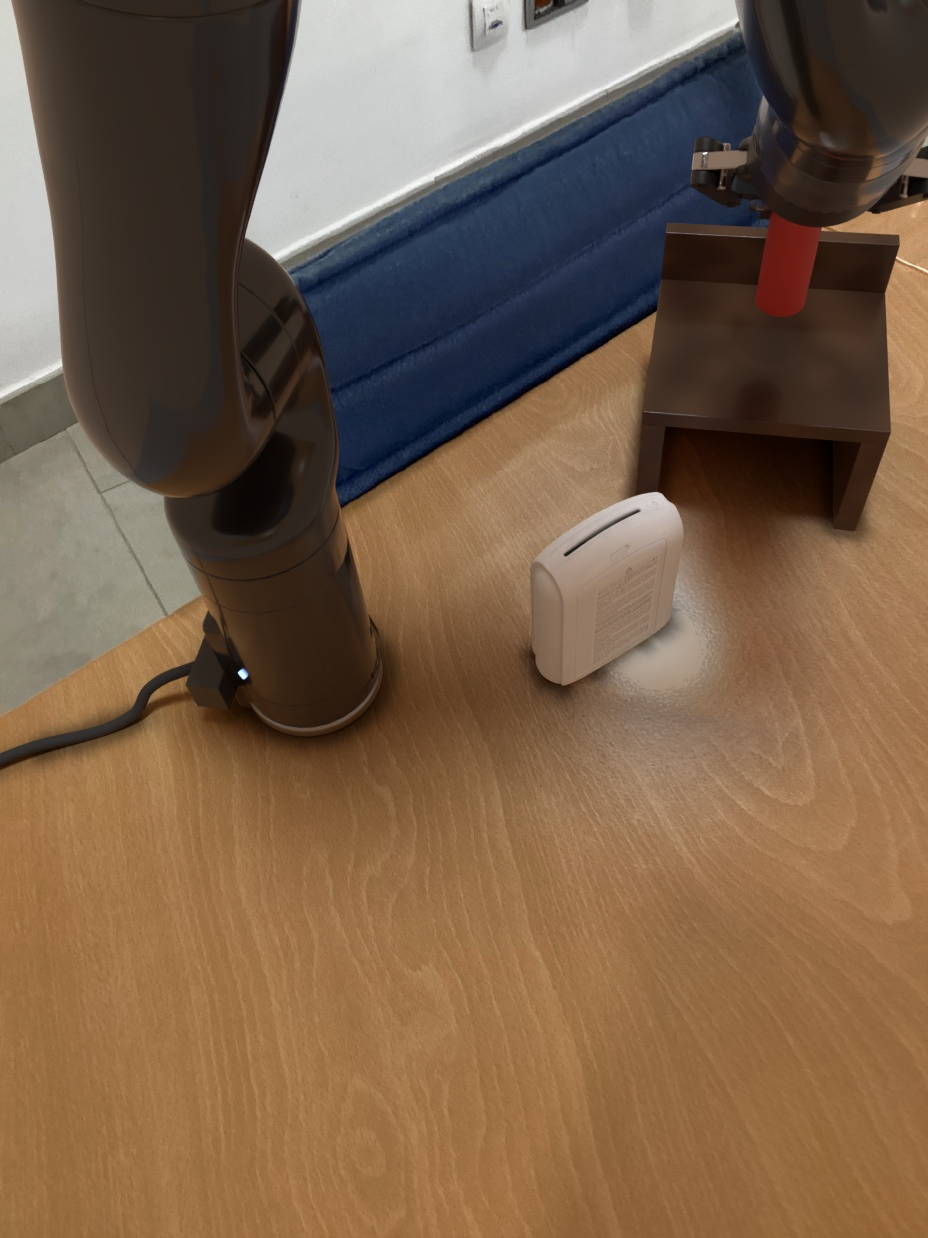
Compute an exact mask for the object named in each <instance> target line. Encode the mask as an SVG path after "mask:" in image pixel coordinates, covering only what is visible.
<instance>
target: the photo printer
mask: <svg viewBox="0 0 928 1238" xmlns="http://www.w3.org/2000/svg"><path fill="white" fill-rule="evenodd" d="M684 533H685V531H684V525H683V520H682V518H681V515H680V513H679V511H678V509H677V507H676V505H675V504H674V503H673V502H670V501H669V500H668V499H667V497H665V496H664V494H663V493H661V492H659V491H658V492H652V493H646V494H641V495H637V496H635V495H634V496H632V497H628V498H625V499H623V500H621V501H618V502H616V503H613V504H611V505H609V506H608V507H605V508H603V509H602V510H599V511H598V512H596V513H594V514H592V515H591V516H589V517H587V518H585V519H583V520H582V521H580V522H579V523H577V524H575V526H572V527H571V528H570V529H568V530H567V531H565V532H563V533H562V534H561V535H560V536H558V537H557V538H556V539H554V540H553V541H552V542H551V543H549V544H548V545H547V546H546V547H545V548H543V550H541V552H540V553H539V554H538V555H537V556H536V557H535V558H534V559H533V560H532V562H531V564H530V567H529V578H530V579H529V581H530V582H529V583H530V584H529V585H530V587H529V589H530V591H529V592H530V630H531V631H530V634H531V635H530V636H531V648H532V649H531V650H532V652H533V654H535V665H536V668H537V670H538V671H539V673H540V675H542V676H543V678H545V679H546V680H548V681H550V682H552V683H554V684H557V685H559V684H560V685H561V686H567V685H570V684H572V683H575V682H577V681H579V680H581V679H583V678H585V677H587V676H589V675H590V674H592V673H593V672H595V671H597V670H598V669H600V668H602V667H604V666H605V665H607V664H609V663H610V662H612V661H614V660H616V658H618V657H621V656H622V655H623V654H625V653H627V652H629V651H630V650H631V649H633V648H635V647H636V646H638V645H639V644H641V643H644V642H645V640H647V639H648V638H650V637H651V636H653V635H654V634H655V633H657V632H659V631H660V630H662V628H663V627H665V625H667V623H668V622H669V621H670V619H671V615H672V609H673V602H674V595H675V591H676V583H677V577H678V572H679V564H680V558H681V552H682V546H683V541H684Z"/></svg>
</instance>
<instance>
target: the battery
mask: <svg viewBox="0 0 928 1238" xmlns="http://www.w3.org/2000/svg"><path fill="white" fill-rule="evenodd" d="M767 228H768V230H767V236H766V242H765V247H764V253H763V258H762V264H761V270H760V275H759V281H758V286H757V292H756V298H755V301H756V304H757V306H758V308H759V309H760V310H761V311H763V312H764V313H766V314H769V315H772V316H778V317H786V316H791V315H794V314H796V313H798V312H799V311H801V309H802V308H803V307H804V305H805V300H806V296H807V292H808V287H809V283H810V278H811V274H812V269H813V265H814V261H815V256H816V252H817V247H818V243H819V239H820V234H821V231H823V227H806V226H801V225H797V224H794V223H792V222H789V221H787V220H785V219H783V218H782V217H780V216H778V215H777V214H776V213H774V212H773V213H772V214H771V215H770V219H768V225H767Z"/></svg>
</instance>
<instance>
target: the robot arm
mask: <svg viewBox="0 0 928 1238" xmlns="http://www.w3.org/2000/svg"><path fill="white" fill-rule="evenodd" d="M10 2H11V6H12V10H13V16H14V20H15V25H16V29H17V34H18V41H19V45H20V50H21V51H20V52H21V56H22V61H23V67H24V68H23V69H24V73H25V80H26V86H27V91H28V97H29V103H30V110H31V115H32V120H33V126H34V131H35V137H36V143H37V148H38V149H37V150H38V154H39V159H40V165H41V169H42V174H43V180H44V185H45V191H46V197H47V202H48V208H49V215H50V222H51V231H52V238H53V239H52V240H53V249H54V261H55V275H56V292H57V308H58V324H59V325H58V326H59V343H60V355H61V366H62V372H63V373H62V374H63V380H64V385H65V389H66V394H67V397H68V400H69V403H70V406H71V408H72V410H73V413H74V415H75V417H76V419H77V421H78V423H79V425H80V427H81V429H82V430H83V432H84V434H85V436H86V437H87V439H88V441H90V443H91V445H92V446H93V447H94V448H95V449H96V451H98V453H99V455H101V456H102V458H103V459H104V460H105V462H107V463H108V464H109V465H110V466H111V467H112V468H113V469H114V470H115V471H116V472H118V473H119V474H120V475H122V477H124V478H126V479H127V480H128V481H129V482H131V483H133V484H134V485H136V486H137V487H140V488H142V489H144V490H145V491H148V492H150V493H153V494H156V495H160V496H163V509H164V513H165V514H164V516H165V519H166V522H167V524H168V527H169V529H170V532H171V534H172V536H173V539H174V541H175V543H176V545H177V547H178V549H179V551H180V554H181V555H182V557H183V560H184V561H185V564H186V566H187V568H188V570H189V572H190V575H191V577H192V578H193V579H192V580H193V581H194V583H195V585H196V587H197V589H198V591H199V593H200V595H201V597H202V599H203V602H204V604H205V606H206V609H207V611H206V613H205V615H204V618H203V621H202V625H201V628H202V629H201V630H202V633H203V634H204V635H203V639H202V641H201V644H200V646H199V649H198V651H197V654H196V657H195V659H194V660H192V661H189V662H188V663H184V664H182V665H179V666H176V667H173V668H170V669H167V670H165V671H163V672H160V673H159V674H158V675H155V676H154V677H152V678H151V679H150V680H149V681H147V682H146V683H145V684H144V685H143V686H142V687H141V689H140V690H139V692H138V694H137V696H136V699H135V702H134V704H133V705H132V707H131V708H130V709H128V710H127V711H126V712H124V713H123V714H120V715H119V716H118V717H116V718H113V719H112V720H109V721H107V722H105V723H102V724H99V725H96V726H92V727H89V728H83V729H79V730H75V731H71V732H65V733H61V734H56V735H52V736H47V737H42V738H39V739H36V740H32V741H29V742H25V743H23V744H20V745H17V746H15V747H11V748H8V749H6V750H4V751H2V752H0V767H1V766H4V765H6V764H8V763H11V762H14V761H16V760H18V759H21V758H24V757H27V756H30V755H33V754H36V753H40V752H42V751H47V750H50V749H51V750H52V749H56V748H59V747H64V746H69V745H74V744H79V743H83V742H87V741H91V740H95V739H99V738H102V737H105V736H108V735H110V734H113V733H115V732H118V731H119V730H121V729H123V728H125V727H127V726H128V725H130V724H131V723H133V722H134V721H136V720H137V719H139V718H140V717H141V715H142V714H143V713H144V711H145V710H146V708H147V706H148V704H149V701H150V699H151V697H152V695H153V694H154V693H156V691H158V690H159V689H160V688H162V687H164V686H166V685H167V684H169V683H171V682H174V681H177V680H179V679H182V678H185V677H187V679H186V682H185V687H186V688H187V690H188V692H189V694H190V696H191V698H192V699H193V701H194V703H195V704H196V707H202V708H209V709H215V710H224V711H230V709H231V707H232V703H233V701H234V698H235V700H236V701H237V703H238V705H239V707H242V708H246V709H247V708H248V709H252V710H253V711H254V713H255V714H256V715H257V717H258V718H259V719H260V720H261V721H262V722H263V723H264V724H266V725H267V726H269V727H270V728H272V729H274V730H276V731H278V732H280V733H283V734H286V735H291V736H295V737H316V736H317V737H318V736H322V735H326V734H331V733H334V732H336V731H339V730H341V729H344V728H345V727H347V726H349V725H351V723H353V722H355V721H356V720H358V719H359V718H360V717H361V716H362V715H363V714H364V713H365V712H366V711H367V710H368V709H369V708H370V707H371V705H372V704H373V702H374V700H375V699H376V697H377V696H378V693H379V691H380V688H381V685H382V682H383V681H382V680H383V675H384V674H383V673H384V671H383V670H384V669H383V660H382V656H381V652H380V648H379V646H378V644H377V641H376V639H375V635H374V631H375V633H376V634H377V637H378V638H379V639H381V637H380V632H379V629H378V627H377V625H376V624H375V622H374V621H373V619H372V617H371V615H370V614H369V611H368V608H367V607H368V606H367V604H366V600H365V597H364V592H363V589H362V584H361V581H360V577H359V572H358V568H357V565H356V560H355V557H354V554H353V550H352V546H351V542H350V539H349V534H348V530H347V527H346V523H345V519H344V515H343V512H342V511H343V510H342V508H341V507H342V506H341V503H340V499H339V496H338V495H339V494H338V491H337V488H336V480H337V473H338V467H339V460H340V439H339V431H338V425H337V421H336V419H337V418H336V414H335V408H334V402H333V397H332V391H331V385H330V380H329V374H328V369H327V363H326V358H325V354H324V353H325V352H324V348H323V345H322V341H321V336H320V333H319V329H318V326H317V323H316V321H315V318H314V316H313V312H312V311H311V308H310V306H309V304H308V302H307V300H306V298H305V297H304V295H303V292H302V291H301V290H300V288H299V285H298V284H297V283H296V282H295V280H294V279H293V277H292V276H291V274H290V273H289V272H288V271H287V270H286V269H285V268H284V267H283V266H282V265H281V263H280V262H278V260H277V259H276V258H274V256H272V255H271V254H270V253H269V252H268V251H267V250H266V249H264V248H263V247H261V245H259V244H258V243H256V242H254V241H253V240H251V239H250V238H248V237H246V235H247V229H248V226H249V222H250V219H251V216H252V212H253V208H254V205H255V201H256V197H257V194H258V191H259V187H260V184H261V180H262V177H263V173H264V170H265V167H266V163H267V160H268V157H269V154H270V153H269V152H270V151H271V146H272V142H273V139H274V135H275V130H276V127H277V123H278V120H279V117H280V113H281V109H282V105H283V100H284V97H285V93H286V89H287V84H288V80H289V77H290V72H291V67H292V62H293V58H294V53H295V48H296V44H297V38H298V32H299V27H300V19H301V11H302V3H303V0H10ZM734 4H735V9H736V13H737V19H738V22H739V27H740V30H741V36H742V40H743V43H744V46H745V50H746V54H747V57H748V60H749V63H750V66H751V69H752V73H753V74H754V77H755V80H756V83H757V84H758V87H759V89H760V91H761V93H762V96H761V100H760V103H759V108H758V110H757V115H756V119H755V122H754V126H753V130H752V134H751V135H750V136H747V137H746V138H744V139H742V141H741V142H740V143H739V145H738V147H737V149H736V150H735V149H734V150H732V149H731V146H732V145H731V143H729V142H723V143H722V142H721V141H719V140H718V139H716V138H714V137H711V136H708V135H706V136H705V135H704V136H702V137H698V138H697V137H696V139H694V146H693V154H692V161H691V169H690V172H691V173H690V182H689V187H690V188H691V189H693V190H695V191H696V192H699V193H700V194H702V195H704V196H706V197H707V198H708V199H710V200H712V201H714V202H715V203H717V204H719V205H721V206H724V207H725V208H729V209H734V208H735V207H739V206H742V200H747V201H748V209H747V211H750V212H756V213H757V212H758V213H757V215H758V216H757V219H758V220H769V219H770V215H771V214H772V213H773V212H774V213H776V214H777V215H778V216H780V217H782V218H783V219H785V220H787V221H789V222H792V223H794V224H797V225H801V226H806V227H822V228H829V227H834V226H838V225H839V226H840V225H842V224H844V223H845V224H846V223H848V222H850V221H852V220H854V219H856V218H858V217H860V216H861V215H863V214H864V213H866V212H867V213H871V214H872V215H880V214H882V213H886V212H889V211H894V210H897V209H901V208H904V207H907V206H912V205H914V204H915V205H916V204H918V203H921V202H925V201H928V145H925V146H923V145H924V143H925V141H926V140H927V138H928V0H734ZM373 630H374V631H373Z"/></svg>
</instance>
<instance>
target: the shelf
mask: <svg viewBox="0 0 928 1238" xmlns="http://www.w3.org/2000/svg"><path fill="white" fill-rule="evenodd" d="M767 230H768V227H759V226H757V227H756V226H740V225H739V226H738V225H721V224H702V223H683V222H667V223H666V226H665V236H664V247H663V254H662V256H663V257H662V267H661V276H660V277H661V278H660V285H659V292H658V300H657V307H656V315H655V321H654V326H653V328H654V329H653V334H652V335H653V336H652V342H651V348H650V349H651V350H650V356H649V362H648V363H649V364H648V371H647V378H646V384H645V385H646V386H645V393H644V399H643V400H644V401H643V406H642V416H641V426H640V427H641V428H640V437H639V447H638V461H637V469H636V483H635V493H634V496H637V495H641V494H646V493H652V492H659V486H660V477H661V469H662V460H663V453H664V443H665V438H666V437H665V435H666V427H671V428H672V427H673V428H682V429H692V430H693V429H695V430H706V431H717V432H728V433H729V432H730V433H742V434H752V435H753V434H754V435H765V436H775V437H777V436H778V437H787V438H788V437H789V438H801V439H811V440H812V439H813V440H823V441H832V528H833V529H839V530H847V531H849V530H850V531H856V530H857V529H858V525H859V522H860V519H861V517H862V515H863V512H864V509H865V506H866V503H867V500H868V498H869V495H870V492H871V489H872V487H873V485H874V481H875V478H876V476H877V472H878V469H879V467H880V465H881V461H882V459H883V456H884V453H885V451H886V447H887V445H888V442H889V438H890V436H891V434H892V423H891V422H892V420H891V399H890V373H889V352H888V349H889V347H888V346H889V345H888V325H887V324H888V323H887V304H886V299H887V298H886V292H887V289H888V285H889V283H890V279H891V276H892V272H893V270H894V269H893V268H894V266H895V262H896V260H897V256H898V253H899V250H900V246H901V241H900V240H901V239H900V235H899V234H892V233H891V234H890V233H874V232H873V233H871V232H855V231H853V232H852V231H835V230H834V231H833V230H821V234H820V239H819V243H818V247H817V252H816V256H815V261H814V265H813V269H812V274H811V278H810V283H809V287H808V292H807V296H806V300H805V305H804V307H803V308H802V309H801V311H799V312H798V313H796V314H794V315H791V316H786V317H778V316H772V315H769V314H766V313H764V312H763V311H761V310H760V309H759V308H758V306H757V304H756V301H755V298H756V292H757V286H758V281H759V275H760V270H761V264H762V258H763V253H764V247H765V242H766V236H767Z"/></svg>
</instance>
